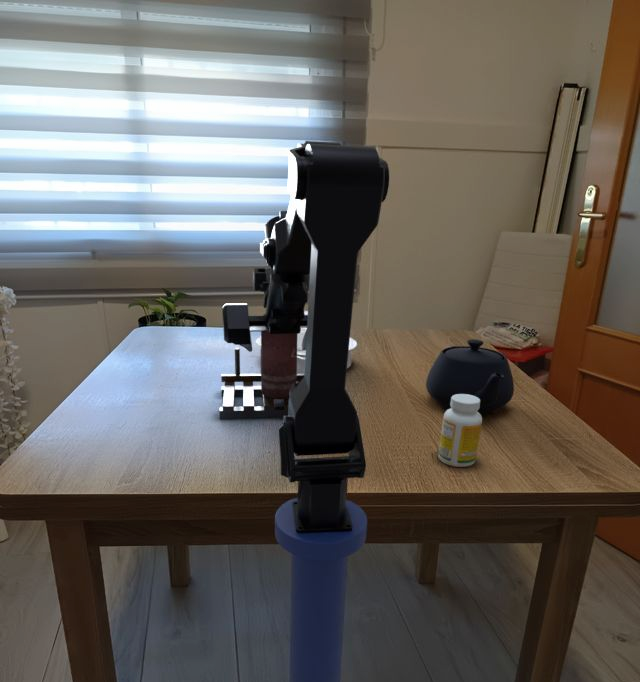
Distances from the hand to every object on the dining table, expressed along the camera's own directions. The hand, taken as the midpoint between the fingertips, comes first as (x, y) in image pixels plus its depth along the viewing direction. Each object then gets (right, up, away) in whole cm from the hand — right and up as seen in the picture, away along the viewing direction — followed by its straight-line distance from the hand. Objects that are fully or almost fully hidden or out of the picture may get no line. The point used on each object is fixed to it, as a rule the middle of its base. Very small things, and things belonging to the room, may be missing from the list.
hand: (276, 348), depth 99 cm
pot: (+4, +1, +29) cm, 30 cm away
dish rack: (0, -10, +4) cm, 10 cm away
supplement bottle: (+28, -19, -15) cm, 37 cm away
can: (0, -8, +1) cm, 8 cm away
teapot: (+35, -10, +6) cm, 37 cm away
